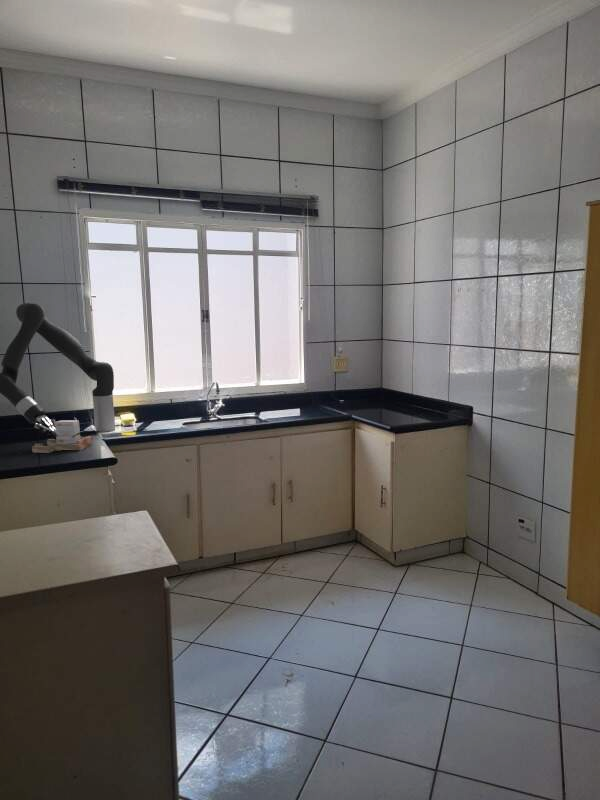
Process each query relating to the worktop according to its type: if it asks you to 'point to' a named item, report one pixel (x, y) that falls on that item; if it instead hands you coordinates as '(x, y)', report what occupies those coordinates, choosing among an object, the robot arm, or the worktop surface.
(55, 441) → the trap lane
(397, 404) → the worktop surface
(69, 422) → the ink box
